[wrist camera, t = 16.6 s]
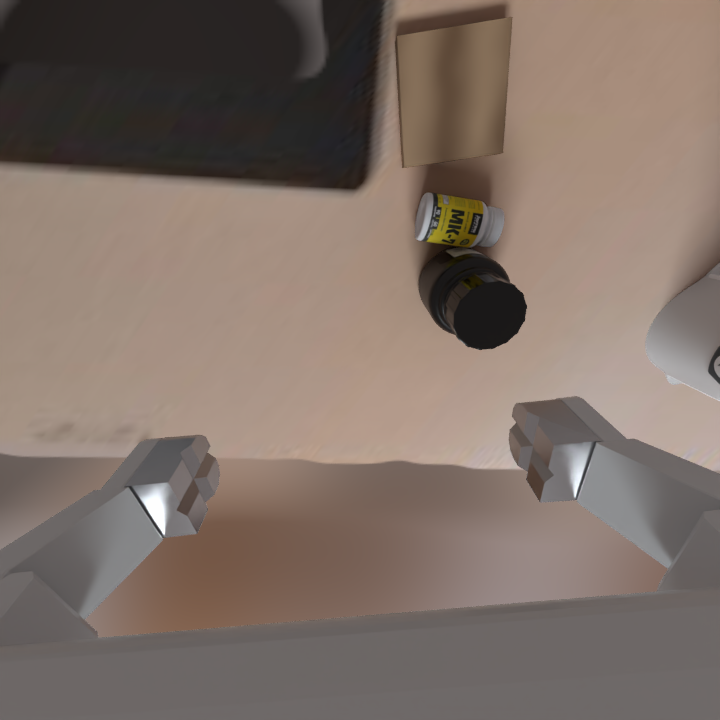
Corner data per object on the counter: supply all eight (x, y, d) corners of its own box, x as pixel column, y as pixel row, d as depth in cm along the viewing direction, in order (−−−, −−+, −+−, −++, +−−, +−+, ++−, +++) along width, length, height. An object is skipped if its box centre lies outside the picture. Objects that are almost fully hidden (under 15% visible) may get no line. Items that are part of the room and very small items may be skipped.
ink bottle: (504, 284, 41) (558, 319, 30) (449, 330, 43) (480, 377, 33) (458, 226, 37) (500, 242, 27) (401, 280, 40) (419, 315, 29)
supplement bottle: (429, 202, 31) (512, 214, 32) (423, 185, 34) (498, 196, 35) (416, 248, 34) (491, 258, 35) (412, 229, 38) (480, 238, 38)
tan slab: (502, 26, 30) (512, 16, 28) (495, 154, 34) (502, 152, 33) (394, 44, 30) (397, 35, 28) (401, 168, 35) (404, 167, 33)
